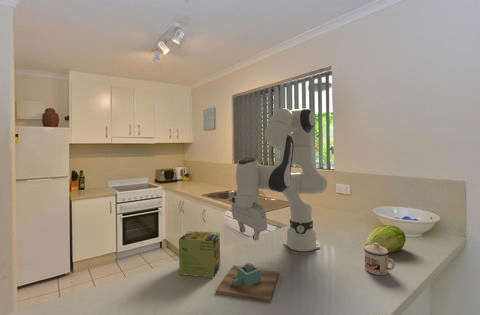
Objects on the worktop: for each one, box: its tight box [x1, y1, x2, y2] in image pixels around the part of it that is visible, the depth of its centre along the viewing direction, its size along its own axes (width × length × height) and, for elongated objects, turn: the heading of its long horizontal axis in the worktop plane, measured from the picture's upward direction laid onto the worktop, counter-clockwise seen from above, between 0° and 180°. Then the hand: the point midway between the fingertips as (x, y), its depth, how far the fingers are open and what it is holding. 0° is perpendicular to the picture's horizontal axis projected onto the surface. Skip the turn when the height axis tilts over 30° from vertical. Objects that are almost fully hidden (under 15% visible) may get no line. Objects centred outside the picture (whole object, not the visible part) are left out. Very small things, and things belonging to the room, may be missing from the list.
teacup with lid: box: [363, 243, 396, 276], centre depth 104 cm, size 12×9×12 cm
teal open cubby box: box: [232, 264, 262, 287], centre depth 97 cm, size 10×7×5 cm, turn 123°
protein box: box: [178, 230, 221, 278], centre depth 108 cm, size 10×15×16 cm
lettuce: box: [364, 224, 407, 253], centre depth 125 cm, size 13×22×14 cm
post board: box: [215, 262, 280, 303], centre depth 98 cm, size 20×20×7 cm
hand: (248, 235), depth 97 cm, fingers open, 8 cm apart
